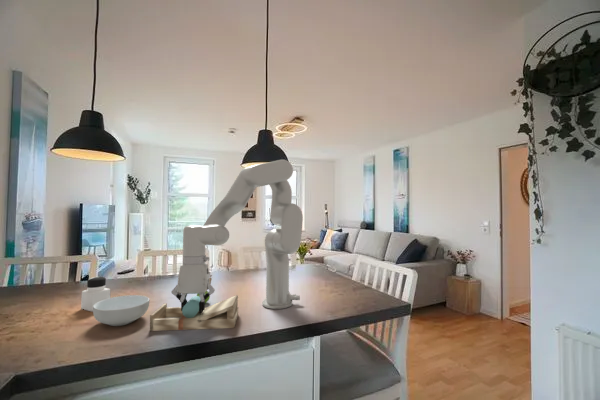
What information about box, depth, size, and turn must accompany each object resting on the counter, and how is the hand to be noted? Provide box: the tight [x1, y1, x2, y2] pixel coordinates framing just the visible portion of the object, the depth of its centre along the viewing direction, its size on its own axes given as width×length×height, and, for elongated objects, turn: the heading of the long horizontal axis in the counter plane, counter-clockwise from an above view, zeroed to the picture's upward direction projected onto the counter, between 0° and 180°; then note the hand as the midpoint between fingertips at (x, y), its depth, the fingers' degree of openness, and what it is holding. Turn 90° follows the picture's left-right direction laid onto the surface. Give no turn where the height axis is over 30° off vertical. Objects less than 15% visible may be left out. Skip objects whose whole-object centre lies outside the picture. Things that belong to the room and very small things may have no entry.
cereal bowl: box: [92, 294, 151, 327], centre depth 100 cm, size 17×17×7 cm
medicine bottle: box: [80, 276, 112, 313], centre depth 114 cm, size 7×7×12 cm
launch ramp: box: [149, 294, 239, 332], centre depth 100 cm, size 27×12×8 cm, turn 96°
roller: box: [182, 295, 201, 318], centre depth 100 cm, size 5×8×5 cm, turn 6°
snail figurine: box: [196, 274, 213, 304], centre depth 120 cm, size 5×6×12 cm
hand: (192, 312), depth 99 cm, fingers closed on roller, 5 cm apart
